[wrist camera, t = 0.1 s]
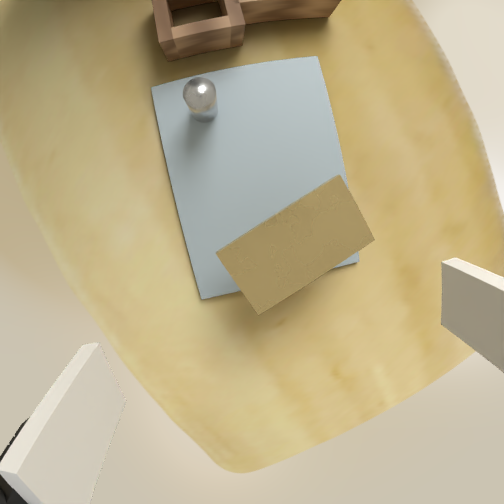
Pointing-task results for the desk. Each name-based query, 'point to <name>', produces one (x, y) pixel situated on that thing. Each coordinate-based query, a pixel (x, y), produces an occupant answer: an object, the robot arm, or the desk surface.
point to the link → (226, 22)
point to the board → (246, 155)
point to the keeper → (296, 245)
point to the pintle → (201, 99)
